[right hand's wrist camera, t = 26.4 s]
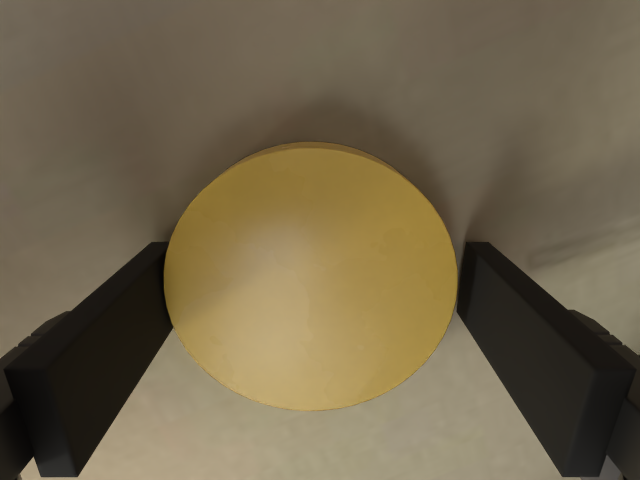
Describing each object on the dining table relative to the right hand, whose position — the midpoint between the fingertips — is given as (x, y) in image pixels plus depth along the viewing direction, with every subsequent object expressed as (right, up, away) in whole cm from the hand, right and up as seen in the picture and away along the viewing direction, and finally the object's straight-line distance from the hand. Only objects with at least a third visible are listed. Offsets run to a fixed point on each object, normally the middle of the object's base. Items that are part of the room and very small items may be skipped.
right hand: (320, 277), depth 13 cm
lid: (0, 0, -1) cm, 1 cm away
